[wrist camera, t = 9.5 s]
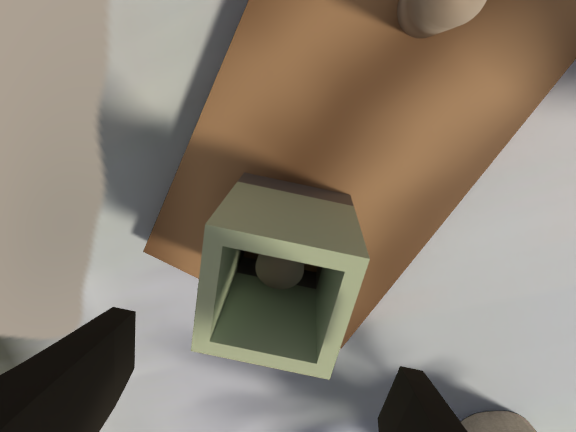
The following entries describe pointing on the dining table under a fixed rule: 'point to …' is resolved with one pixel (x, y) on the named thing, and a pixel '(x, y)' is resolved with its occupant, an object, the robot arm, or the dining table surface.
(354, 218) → the sleeve
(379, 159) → the pin board
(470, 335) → the dining table surface
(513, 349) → the dining table surface
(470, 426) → the house plant
